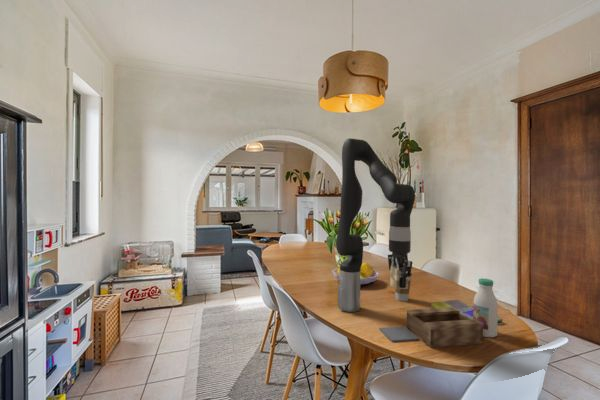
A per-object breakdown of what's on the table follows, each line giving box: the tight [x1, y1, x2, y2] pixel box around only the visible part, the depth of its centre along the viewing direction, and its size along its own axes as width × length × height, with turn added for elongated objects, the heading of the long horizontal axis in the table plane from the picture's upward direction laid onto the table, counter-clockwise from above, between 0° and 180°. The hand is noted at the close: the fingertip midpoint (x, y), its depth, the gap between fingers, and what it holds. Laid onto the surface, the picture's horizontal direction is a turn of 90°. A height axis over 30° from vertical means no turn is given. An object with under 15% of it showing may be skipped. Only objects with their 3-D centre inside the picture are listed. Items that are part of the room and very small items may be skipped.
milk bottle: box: [472, 277, 499, 338], centre depth 111 cm, size 8×8×20 cm
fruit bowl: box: [331, 262, 380, 286], centre depth 178 cm, size 28×27×11 cm
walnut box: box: [406, 307, 484, 349], centre depth 109 cm, size 20×15×7 cm
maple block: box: [389, 267, 408, 290], centre depth 109 cm, size 4×4×7 cm
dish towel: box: [430, 299, 505, 326], centre depth 129 cm, size 18×24×3 cm
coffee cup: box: [394, 273, 412, 302], centre depth 147 cm, size 8×8×15 cm
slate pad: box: [378, 325, 419, 343], centre depth 109 cm, size 10×10×1 cm
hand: (398, 285), depth 109 cm, fingers closed on maple block, 4 cm apart
